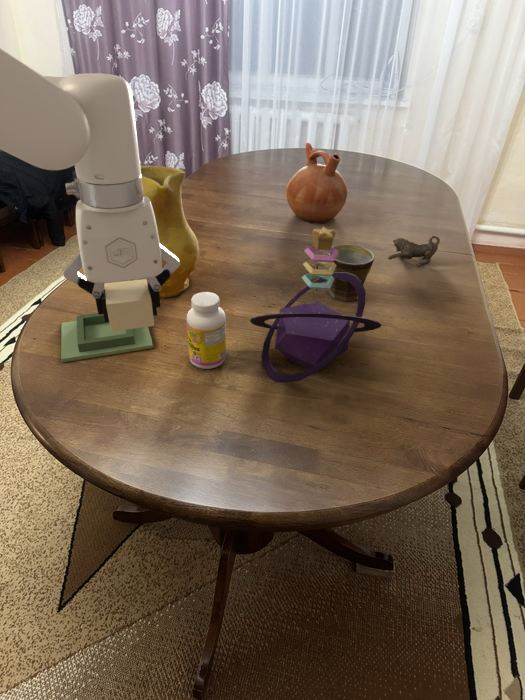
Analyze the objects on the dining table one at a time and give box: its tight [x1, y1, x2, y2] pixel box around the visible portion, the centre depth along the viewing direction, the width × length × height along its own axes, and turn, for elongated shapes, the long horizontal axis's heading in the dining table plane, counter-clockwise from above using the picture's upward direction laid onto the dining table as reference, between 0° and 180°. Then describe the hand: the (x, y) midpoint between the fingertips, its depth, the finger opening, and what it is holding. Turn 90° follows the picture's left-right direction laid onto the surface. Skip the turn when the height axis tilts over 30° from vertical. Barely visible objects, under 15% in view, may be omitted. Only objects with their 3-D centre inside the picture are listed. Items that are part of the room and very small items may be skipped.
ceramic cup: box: [315, 243, 375, 302], centre depth 103 cm, size 13×10×10 cm
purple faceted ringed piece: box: [249, 226, 382, 384], centre depth 79 cm, size 22×21×25 cm
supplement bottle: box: [186, 291, 227, 370], centre depth 81 cm, size 7×7×13 cm
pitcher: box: [130, 165, 200, 298], centre depth 100 cm, size 17×19×25 cm
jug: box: [286, 142, 348, 224], centre depth 138 cm, size 18×18×20 cm
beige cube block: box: [103, 279, 155, 332], centre depth 67 cm, size 6×6×4 cm
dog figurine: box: [387, 235, 441, 268], centre depth 119 cm, size 12×6×7 cm, turn 82°
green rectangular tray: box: [60, 312, 154, 363], centre depth 89 cm, size 16×12×3 cm
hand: (130, 313), depth 68 cm, fingers closed on beige cube block, 6 cm apart
